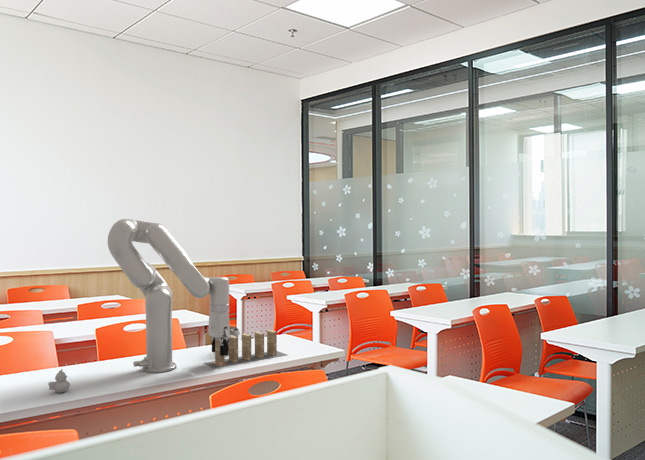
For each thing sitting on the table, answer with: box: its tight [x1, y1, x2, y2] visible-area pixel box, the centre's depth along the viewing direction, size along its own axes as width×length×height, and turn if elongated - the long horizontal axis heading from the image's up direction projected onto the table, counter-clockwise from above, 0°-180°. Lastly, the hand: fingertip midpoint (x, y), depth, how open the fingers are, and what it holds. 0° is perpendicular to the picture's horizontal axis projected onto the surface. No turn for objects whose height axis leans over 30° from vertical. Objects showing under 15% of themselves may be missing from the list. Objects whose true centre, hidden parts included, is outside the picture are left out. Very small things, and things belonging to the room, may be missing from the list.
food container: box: [222, 326, 241, 355], centre depth 235 cm, size 12×6×10 cm, turn 179°
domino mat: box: [202, 350, 288, 369], centre depth 223 cm, size 34×10×1 cm, turn 127°
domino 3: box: [241, 332, 252, 360], centre depth 223 cm, size 2×5×10 cm, turn 37°
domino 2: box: [228, 335, 239, 363], centre depth 219 cm, size 2×5×10 cm, turn 37°
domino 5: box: [266, 329, 278, 356], centre depth 230 cm, size 2×5×10 cm, turn 37°
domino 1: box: [214, 338, 226, 365], centre depth 216 cm, size 2×5×10 cm, turn 38°
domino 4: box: [254, 331, 265, 358], centre depth 226 cm, size 2×5×10 cm, turn 37°
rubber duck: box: [47, 368, 71, 394], centre depth 181 cm, size 5×7×8 cm
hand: (219, 353), depth 216 cm, fingers open, 6 cm apart
